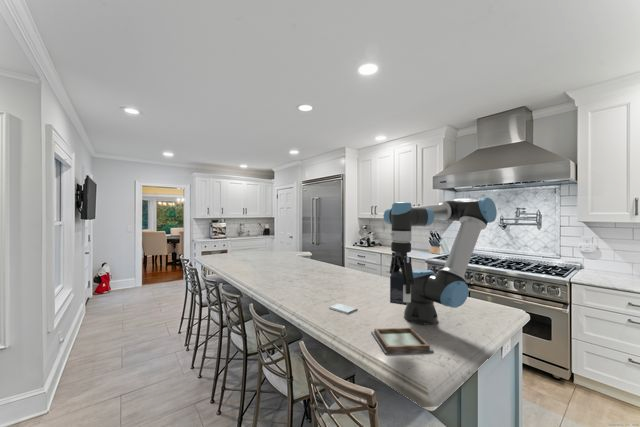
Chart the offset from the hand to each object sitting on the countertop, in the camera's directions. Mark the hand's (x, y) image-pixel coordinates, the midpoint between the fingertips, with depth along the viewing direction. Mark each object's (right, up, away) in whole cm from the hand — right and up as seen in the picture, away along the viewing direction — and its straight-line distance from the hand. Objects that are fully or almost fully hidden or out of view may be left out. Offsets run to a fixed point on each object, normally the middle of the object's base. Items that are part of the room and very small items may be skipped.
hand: (400, 297), depth 109 cm
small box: (0, -2, 0) cm, 2 cm away
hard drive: (-19, -18, +36) cm, 45 cm away
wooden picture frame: (0, -18, 0) cm, 18 cm away
